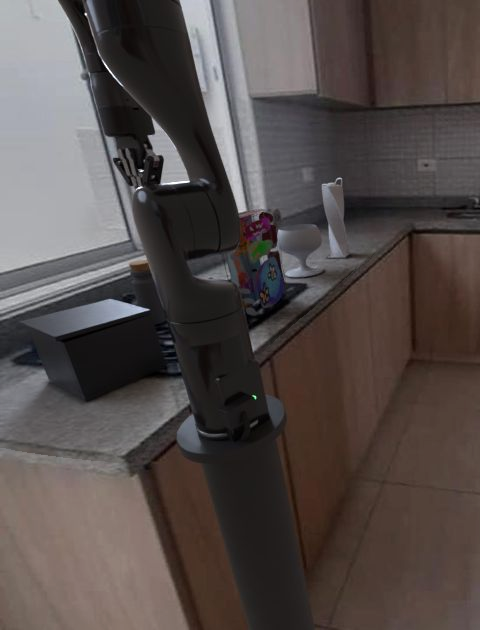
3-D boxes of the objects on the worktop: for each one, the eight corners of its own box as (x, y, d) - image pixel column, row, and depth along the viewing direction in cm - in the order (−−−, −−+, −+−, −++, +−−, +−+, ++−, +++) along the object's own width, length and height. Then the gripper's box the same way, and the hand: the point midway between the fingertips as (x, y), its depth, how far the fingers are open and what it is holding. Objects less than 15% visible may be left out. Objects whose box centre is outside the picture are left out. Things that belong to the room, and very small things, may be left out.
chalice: (275, 279, 139) (267, 232, 134) (292, 267, 152) (285, 223, 146) (317, 279, 137) (311, 231, 132) (331, 267, 150) (326, 222, 145)
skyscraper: (354, 253, 167) (346, 176, 157) (348, 259, 159) (339, 178, 149) (332, 254, 168) (323, 177, 158) (325, 259, 161) (315, 179, 150)
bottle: (162, 315, 113) (145, 258, 108) (175, 318, 110) (159, 260, 105) (138, 323, 109) (120, 264, 103) (152, 326, 106) (134, 266, 100)
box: (283, 290, 128) (268, 204, 119) (303, 290, 127) (289, 204, 118) (235, 323, 105) (213, 220, 96) (259, 323, 104) (238, 219, 95)
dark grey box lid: (56, 341, 70) (54, 336, 69) (20, 325, 77) (18, 321, 77) (151, 313, 81) (150, 309, 81) (111, 302, 89) (110, 298, 89)
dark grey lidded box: (86, 402, 74) (63, 343, 70) (49, 381, 82) (27, 327, 78) (167, 366, 85) (151, 314, 81) (127, 351, 93) (112, 302, 89)
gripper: (80, 108, 74) (111, 213, 80) (118, 101, 67) (149, 215, 74) (126, 109, 80) (152, 207, 86) (166, 103, 73) (191, 209, 79)
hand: (151, 210), depth 80 cm, fingers closed
